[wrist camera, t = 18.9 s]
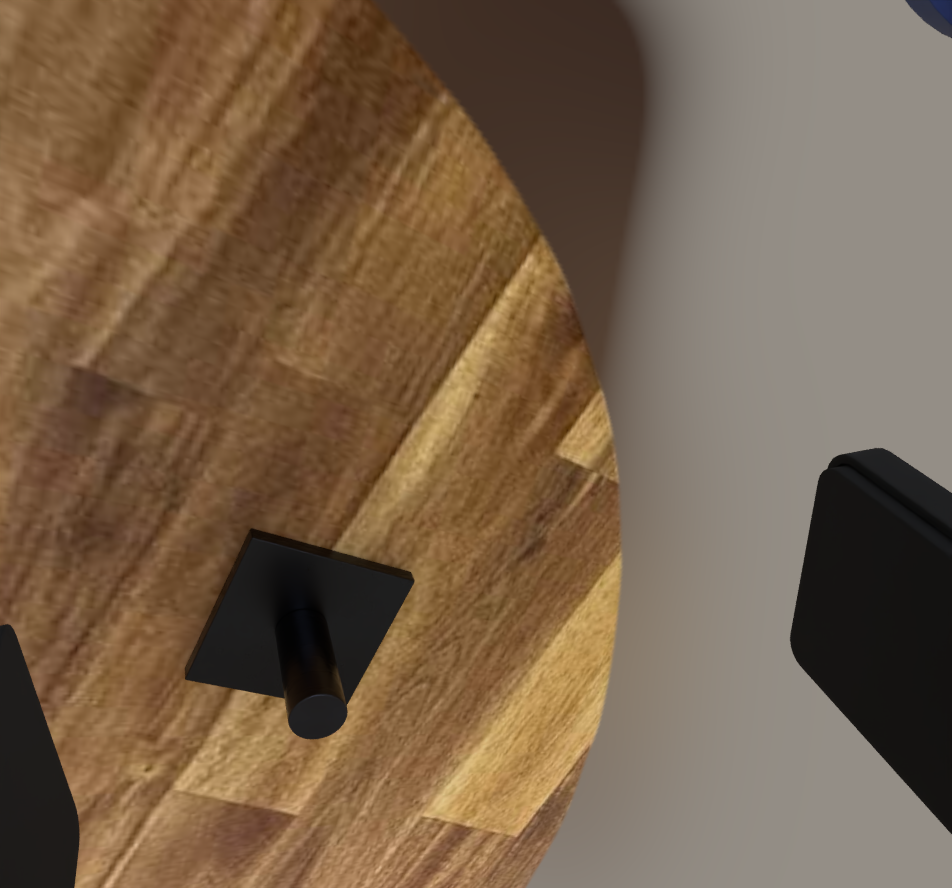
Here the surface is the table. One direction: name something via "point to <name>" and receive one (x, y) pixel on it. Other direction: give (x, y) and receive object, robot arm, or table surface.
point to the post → (298, 627)
